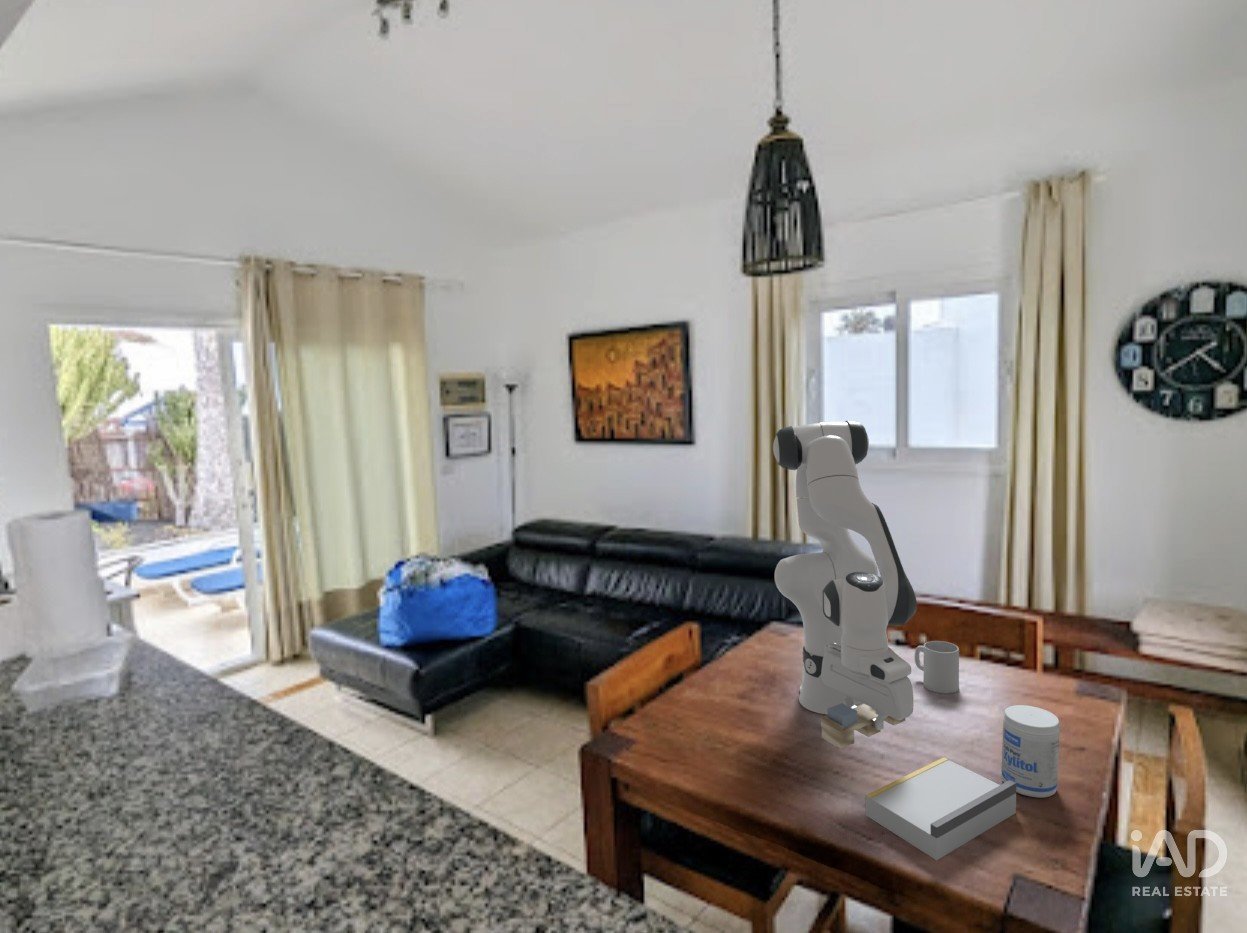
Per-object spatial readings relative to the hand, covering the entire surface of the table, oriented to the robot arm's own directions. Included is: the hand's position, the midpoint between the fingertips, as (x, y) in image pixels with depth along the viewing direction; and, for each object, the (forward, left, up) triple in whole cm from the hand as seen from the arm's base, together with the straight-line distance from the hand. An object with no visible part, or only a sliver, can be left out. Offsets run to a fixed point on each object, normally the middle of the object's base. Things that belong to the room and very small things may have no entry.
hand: (864, 721), depth 138 cm
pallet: (0, 0, -2) cm, 2 cm away
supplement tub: (-26, +18, -14) cm, 34 cm away
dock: (-4, +14, -14) cm, 20 cm away
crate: (+6, 0, +2) cm, 7 cm away
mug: (-51, -21, -14) cm, 57 cm away
